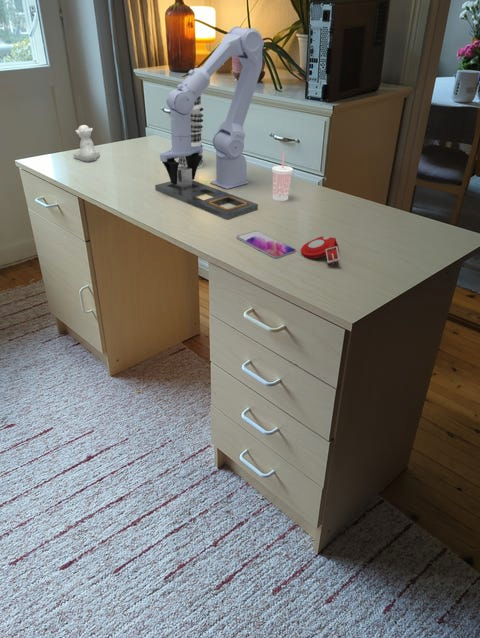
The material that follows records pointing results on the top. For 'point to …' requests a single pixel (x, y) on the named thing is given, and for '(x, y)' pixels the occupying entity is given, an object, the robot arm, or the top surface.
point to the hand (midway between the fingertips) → (182, 181)
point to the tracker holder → (322, 249)
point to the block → (184, 178)
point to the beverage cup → (281, 181)
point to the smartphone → (266, 244)
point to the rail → (211, 203)
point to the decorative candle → (195, 130)
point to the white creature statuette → (86, 145)
